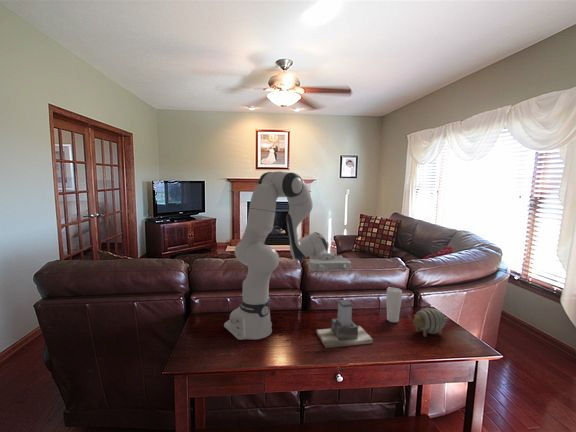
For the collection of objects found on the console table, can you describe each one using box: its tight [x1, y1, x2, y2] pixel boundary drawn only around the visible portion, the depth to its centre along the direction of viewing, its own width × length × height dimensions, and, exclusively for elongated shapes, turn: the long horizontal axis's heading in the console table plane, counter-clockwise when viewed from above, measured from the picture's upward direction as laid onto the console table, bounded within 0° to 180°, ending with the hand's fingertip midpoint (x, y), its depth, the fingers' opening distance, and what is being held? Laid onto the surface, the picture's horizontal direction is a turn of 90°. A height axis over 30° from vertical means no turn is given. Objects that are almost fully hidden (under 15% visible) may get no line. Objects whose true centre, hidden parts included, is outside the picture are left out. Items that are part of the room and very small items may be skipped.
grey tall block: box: [337, 299, 353, 327], centre depth 122 cm, size 5×4×14 cm
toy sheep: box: [412, 307, 450, 338], centre depth 127 cm, size 11×17×11 cm, turn 107°
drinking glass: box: [385, 287, 403, 323], centre depth 138 cm, size 7×7×15 cm
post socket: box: [316, 317, 374, 349], centre depth 122 cm, size 12×20×6 cm, turn 102°
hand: (335, 269), depth 132 cm, fingers open, 8 cm apart
